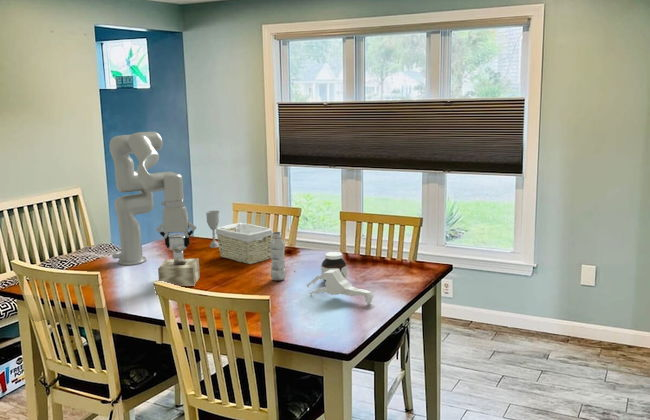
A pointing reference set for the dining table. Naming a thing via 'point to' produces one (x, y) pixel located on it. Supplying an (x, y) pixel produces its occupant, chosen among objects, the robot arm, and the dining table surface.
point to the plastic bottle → (277, 257)
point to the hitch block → (180, 272)
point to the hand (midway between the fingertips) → (177, 246)
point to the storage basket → (244, 242)
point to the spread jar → (334, 263)
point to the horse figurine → (340, 286)
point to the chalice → (213, 225)
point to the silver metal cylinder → (177, 248)
